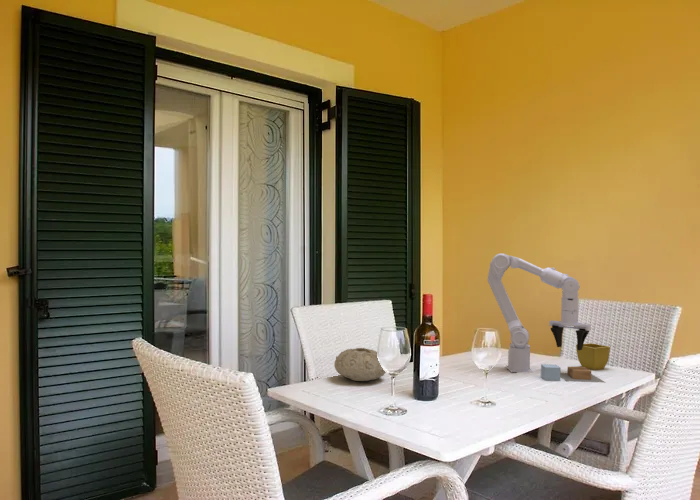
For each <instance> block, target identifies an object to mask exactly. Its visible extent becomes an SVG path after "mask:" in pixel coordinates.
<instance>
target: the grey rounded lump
mask: <svg viewBox="0 0 700 500" xmlns="http://www.w3.org/2000/svg"><path fill="white" fill-rule="evenodd" d="M377 352H378V351H376V350H374V349H369V348H365V347H356V348H348V349H345V350H343V351H341V352H340V353H339V354H338V355H337V356H336V357H335V359H334V360H335V361H334V364H333V365H334V367H333V368H334V369H335V371H336V372H337V373H338V374H339V375H340V376H341V377H344V378H348V379H349V380H352V381H355V382H367V381H373V380H378V379H379V378H382V377H383V376H385V374H386V373H387V371H386V372H385V371H384V370H383V368H382V367H381V365H380V363H379V361H378V358H377Z"/></svg>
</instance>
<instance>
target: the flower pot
mask: <svg viewBox="0 0 700 500" xmlns="http://www.w3.org/2000/svg"><path fill="white" fill-rule="evenodd" d="M575 348H576V355H577V359H578V362H579V364H580V365H581V366H580V367H585V368H587V369H589V370H591V371H596V370H597V371H598V370H604V368H605V367H606V366H607V364H608V362H609V359H610V358H609V357H610V351H611V346H608V345H602V344H597V343H592V342H591V343H589V342H588V343H583V347H582V350H577V344H575Z"/></svg>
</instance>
